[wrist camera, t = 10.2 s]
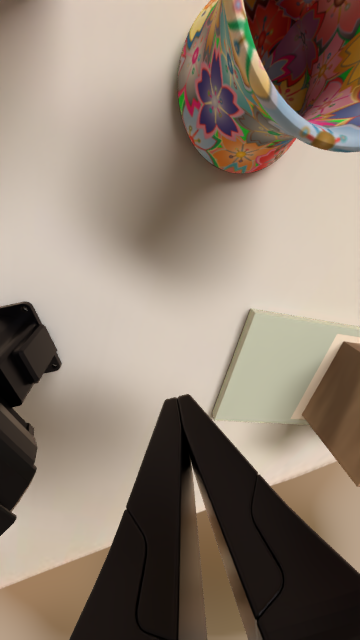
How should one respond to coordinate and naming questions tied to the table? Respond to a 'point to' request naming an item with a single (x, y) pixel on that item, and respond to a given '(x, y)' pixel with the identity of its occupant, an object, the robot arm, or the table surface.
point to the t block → (339, 409)
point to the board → (279, 367)
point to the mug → (271, 79)
